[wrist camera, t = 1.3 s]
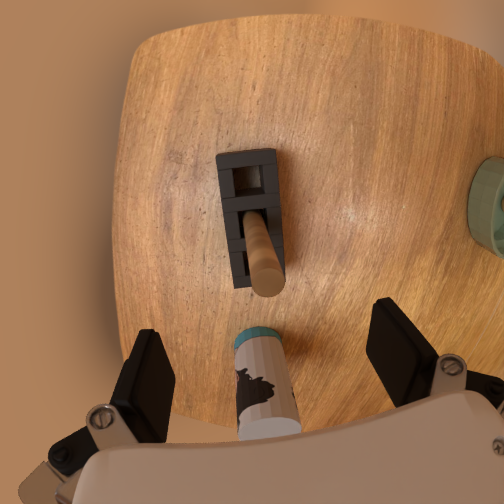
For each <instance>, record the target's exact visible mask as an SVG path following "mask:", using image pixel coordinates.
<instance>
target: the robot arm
mask: <svg viewBox="0 0 504 504" xmlns="http://www.w3.org/2000/svg"><path fill="white" fill-rule="evenodd" d="M366 354H367V356H368V358H369V360H370V362H371V363H372V365H373V367H374V369H375V371H376V372H377V374H378V376H379V378H380V380H381V381H382V383H383V385H384V387H385V389H386V391H387V393H388V394H389V396H390V398H391V400H392V402H393V404H394V406H395V407H396V408H395V409H392V410H389V411H386V412H383V413H380V414H376V415H373V416H370V417H366V418H363V419H359V420H356V421H352V422H348V423H344V424H340V425H336V426H332V427H328V428H323V429H319V430H314V431H309V432H303V433H298V434H292V435H286V436H279V437H272V438H264V439H256V440H246V441H234V442H219V443H176V444H175V443H165V442H166V439H167V432H168V425H169V418H170V412H171V406H172V399H173V393H174V387H175V374H174V372H173V369H172V367H171V364H170V362H169V359H168V356H167V354H166V351H165V349H164V346H163V343H162V340H161V338H160V335H159V333H158V332H155V331H154V329H141V330H140V331H139V333H138V336H137V338H136V341H135V344H134V346H133V349H132V351H131V354H130V356H129V359H127V360H126V361H125V362H124V365H123V367H122V370H121V373H120V376H119V378H118V381H117V383H116V386H115V389H114V392H113V395H112V397H111V400H110V403H109V404H100V405H97V406H95V407H93V408H92V409H91V410H90V411H89V412H88V414H87V416H86V424H87V426H85V427H83V428H81V429H80V430H78V431H76V432H74V433H73V434H71V435H69V436H67V437H66V438H64V439H62V440H60V441H58V442H57V443H55V444H54V445H53V446H52V447H51V448H50V450H49V453H48V459H49V460H48V461H47V462H45V461H43V462H42V463H41V464H40V465H39V466H38V467H37V468H36V469H35V470H34V471H33V472H32V473H31V474H30V475H29V476H28V477H27V478H26V479H25V480H24V481H23V482H22V483H21V484H20V486H19V489H18V494H19V497H20V499H21V501H22V502H23V503H24V504H504V381H503V380H502V379H500V378H498V377H494V376H490V375H486V374H482V373H478V372H473V371H469V370H467V365H466V363H465V361H464V360H463V359H462V358H461V357H460V356H458V355H455V354H444V355H442V356H440V357H439V356H438V354H437V352H436V351H435V350H434V348H433V347H432V346H431V345H430V343H429V342H428V341H427V340H426V339H425V337H424V336H423V335H422V334H421V333H420V331H419V330H418V329H417V328H416V327H415V325H414V324H413V323H412V322H411V321H410V319H409V318H408V317H407V316H406V315H405V314H404V313H403V311H402V310H401V309H400V308H399V307H398V306H397V305H396V303H395V302H394V301H393V300H392V299H391V298H390V297H386V298H382V299H378V300H377V301H376V303H374V304H373V309H372V316H371V322H370V328H369V334H368V340H367V345H366Z"/></svg>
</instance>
